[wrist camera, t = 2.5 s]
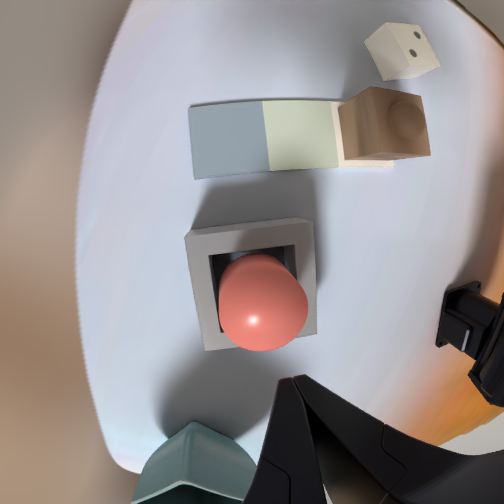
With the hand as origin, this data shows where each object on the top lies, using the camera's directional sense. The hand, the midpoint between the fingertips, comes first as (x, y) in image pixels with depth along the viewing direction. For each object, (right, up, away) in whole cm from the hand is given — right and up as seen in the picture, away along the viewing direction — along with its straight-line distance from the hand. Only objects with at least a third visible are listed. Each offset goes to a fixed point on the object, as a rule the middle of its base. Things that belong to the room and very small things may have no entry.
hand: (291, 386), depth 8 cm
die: (+11, +21, +9) cm, 25 cm away
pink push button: (-1, +2, +9) cm, 9 cm away
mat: (+2, +12, +10) cm, 16 cm away
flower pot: (-6, -15, +15) cm, 22 cm away
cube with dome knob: (+7, +13, +10) cm, 18 cm away
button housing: (-1, +2, +12) cm, 12 cm away
